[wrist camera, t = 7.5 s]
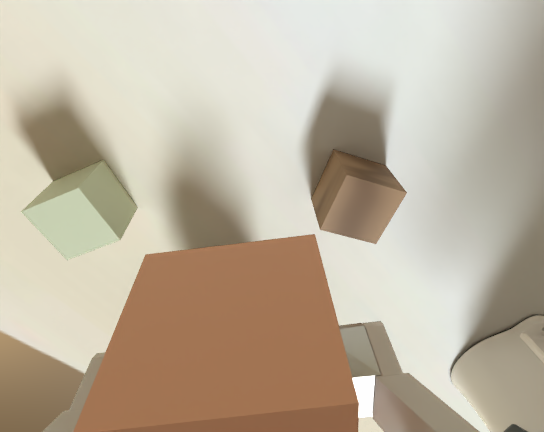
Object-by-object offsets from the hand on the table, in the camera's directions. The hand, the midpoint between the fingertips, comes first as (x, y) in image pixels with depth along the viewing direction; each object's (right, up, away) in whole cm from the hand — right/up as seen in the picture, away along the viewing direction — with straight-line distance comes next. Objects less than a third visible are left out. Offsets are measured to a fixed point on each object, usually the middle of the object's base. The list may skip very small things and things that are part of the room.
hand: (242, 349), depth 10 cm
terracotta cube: (0, +1, +1) cm, 2 cm away
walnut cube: (+8, +7, +21) cm, 24 cm away
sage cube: (-14, +6, +21) cm, 26 cm away
